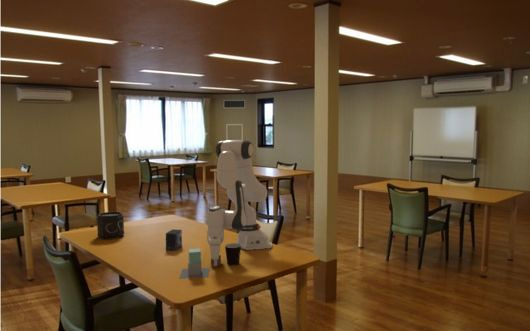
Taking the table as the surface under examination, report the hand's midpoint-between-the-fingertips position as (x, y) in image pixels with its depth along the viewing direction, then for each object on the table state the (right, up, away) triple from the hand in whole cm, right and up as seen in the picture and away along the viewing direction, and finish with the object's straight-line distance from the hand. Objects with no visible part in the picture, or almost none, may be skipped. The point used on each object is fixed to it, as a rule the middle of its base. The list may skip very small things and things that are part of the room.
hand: (216, 262), depth 212 cm
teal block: (-9, +4, -12) cm, 16 cm away
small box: (-30, +1, +34) cm, 45 cm away
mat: (-9, -3, -12) cm, 15 cm away
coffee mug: (+10, -2, +5) cm, 11 cm away
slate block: (-9, -2, -12) cm, 15 cm away
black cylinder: (-79, +3, +63) cm, 101 cm away
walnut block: (0, -2, 0) cm, 2 cm away
